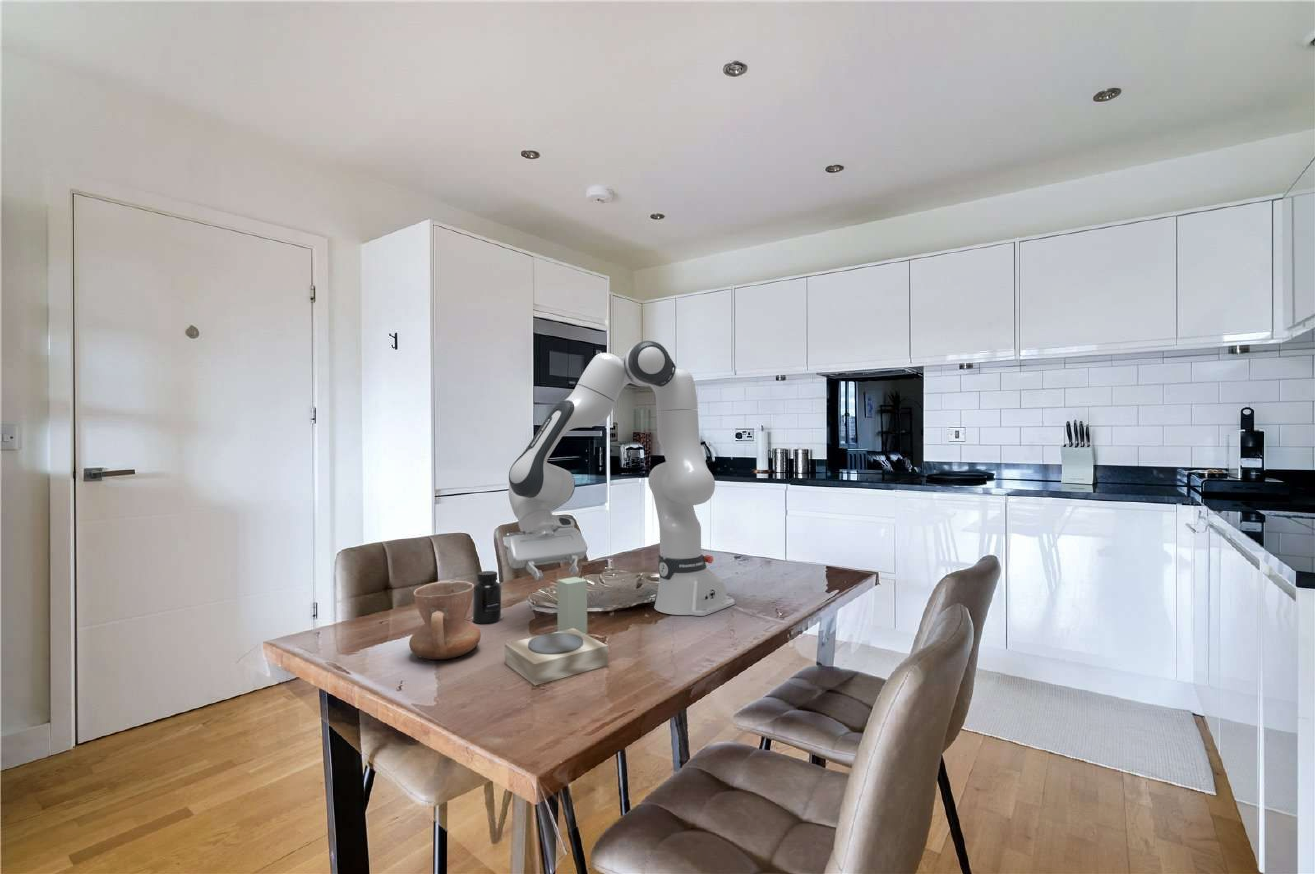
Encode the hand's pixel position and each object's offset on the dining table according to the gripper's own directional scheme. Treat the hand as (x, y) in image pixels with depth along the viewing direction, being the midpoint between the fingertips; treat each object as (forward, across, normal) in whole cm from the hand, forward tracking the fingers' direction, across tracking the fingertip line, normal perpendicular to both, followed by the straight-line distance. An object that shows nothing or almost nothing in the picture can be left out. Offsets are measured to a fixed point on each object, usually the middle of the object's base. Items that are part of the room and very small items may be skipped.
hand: (557, 575), depth 146 cm
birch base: (+23, -11, -5) cm, 26 cm away
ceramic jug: (+9, -27, +9) cm, 30 cm away
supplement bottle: (-3, -11, +21) cm, 24 cm away
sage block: (+14, 0, +4) cm, 14 cm away
